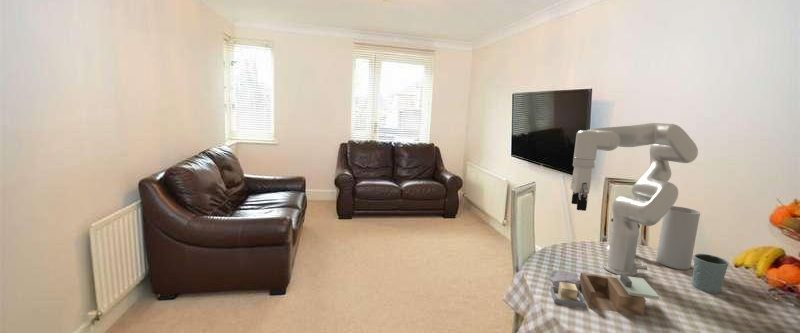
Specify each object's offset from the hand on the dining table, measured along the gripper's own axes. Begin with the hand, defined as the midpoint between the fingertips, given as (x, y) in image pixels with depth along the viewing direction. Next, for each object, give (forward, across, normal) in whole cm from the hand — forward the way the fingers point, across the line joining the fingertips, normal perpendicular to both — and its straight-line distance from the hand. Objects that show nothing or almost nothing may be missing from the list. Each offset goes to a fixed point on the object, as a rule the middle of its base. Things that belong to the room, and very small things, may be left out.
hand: (578, 207), depth 144 cm
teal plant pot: (+29, -7, +50) cm, 58 cm away
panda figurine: (+29, -40, +30) cm, 58 cm away
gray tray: (+28, +22, -5) cm, 36 cm away
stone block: (+29, +8, -4) cm, 30 cm away
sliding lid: (+22, +18, +17) cm, 33 cm away
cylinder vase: (+29, -30, +48) cm, 63 cm away
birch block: (+28, +22, -5) cm, 36 cm away
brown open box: (+28, +19, +9) cm, 35 cm away
